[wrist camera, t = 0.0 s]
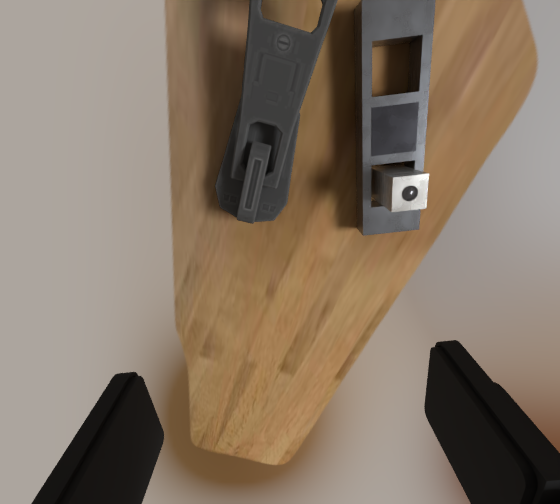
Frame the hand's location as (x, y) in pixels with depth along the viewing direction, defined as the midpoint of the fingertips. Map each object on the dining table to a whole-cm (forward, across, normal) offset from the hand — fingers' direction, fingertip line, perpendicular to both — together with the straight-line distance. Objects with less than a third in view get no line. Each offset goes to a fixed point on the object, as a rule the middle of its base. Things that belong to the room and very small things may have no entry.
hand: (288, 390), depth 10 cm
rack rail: (+31, -14, -6) cm, 35 cm away
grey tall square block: (+31, -14, 0) cm, 34 cm away
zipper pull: (+32, 0, -9) cm, 33 cm away
